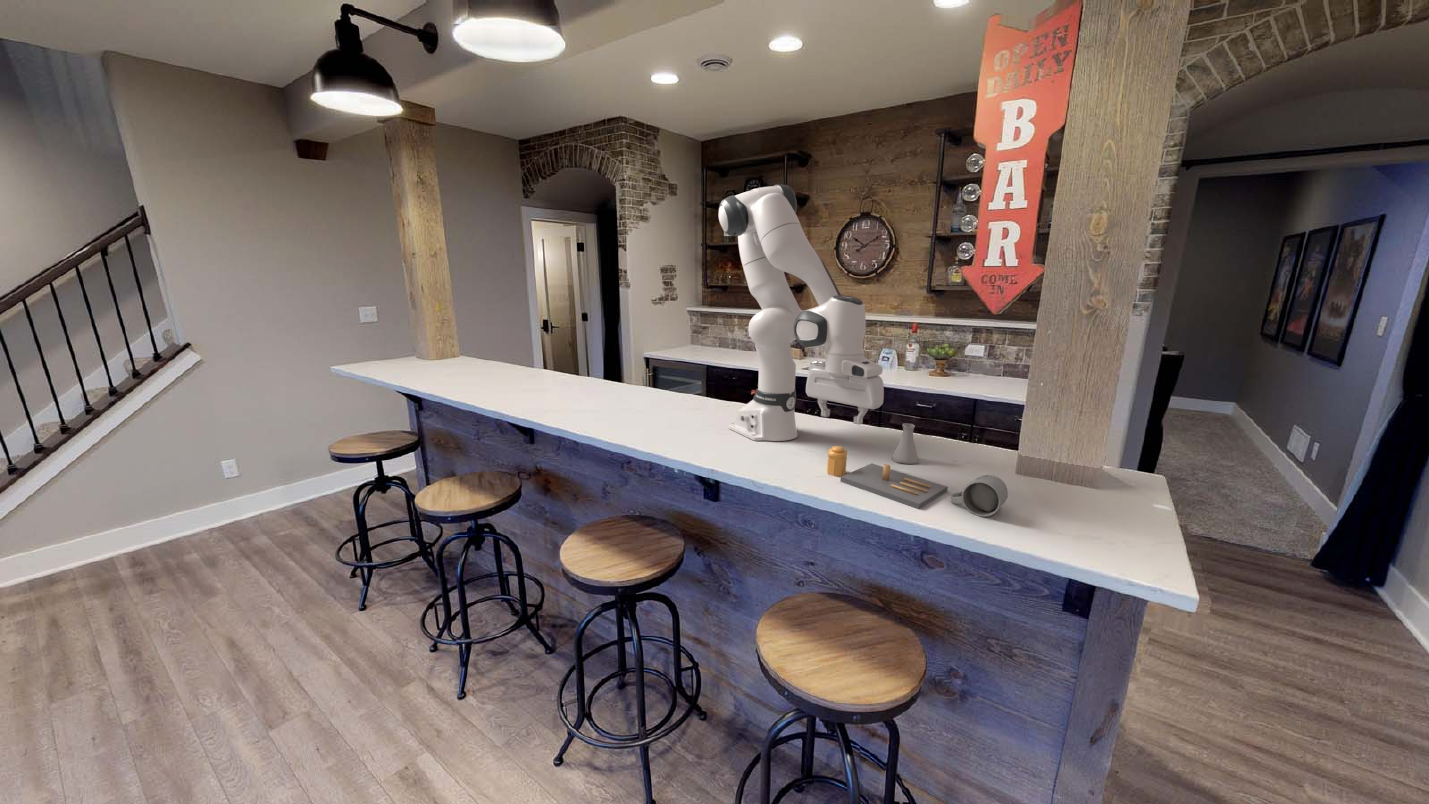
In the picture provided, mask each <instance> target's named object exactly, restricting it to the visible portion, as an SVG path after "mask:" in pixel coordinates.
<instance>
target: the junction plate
mask: <svg viewBox="0 0 1429 804" xmlns="http://www.w3.org/2000/svg"><path fill="white" fill-rule="evenodd" d="M840 483H843V484H846V485H848V486H849V485H850V486H851V487H854V488H858V489H860V490H863V491H867V492H869V493H871V494H875V495H878V496H880V497H883V498H886V499H889V500H892V501H895V502H898V503H900V504H902V505H903V504H904V505H906V506H909V507H912V508H915V509H916V510H918V509H921V508H923V507H924V506H926V505H928V504H929V503H931V502H933V501H934V500H936V499H937V498H939V497H940V496H943V495H944V494H945V493H948V488H949V487H948V486H947V485H943V484H942V483H941V484H940V483H937V482H933V481H931V480H927V479H924V478H921V477H917V476H915V475H911V474H908V473H905V472H901V471H899V470H894V469H891V465H890V464H886V463H885V464H883V466H882V465H880V464H879V465H878V464H875V463H873V462H872V463H869V464H866V465H865V466H862V467H860V468H858V469H856V470H854V471H851V472H849V473H846V474H845V475H843V476H840Z"/></svg>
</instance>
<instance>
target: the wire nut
mask: <svg viewBox="0 0 1429 804" xmlns="http://www.w3.org/2000/svg"><path fill="white" fill-rule="evenodd" d="M827 451H828V452H827V462H826V464H827V465H826V473H827V474H828V475H831V476H833V477H834V476H835V477H842V476H844V475H846V474H847V473H846V472H847V460H848V458H847V457H848V456H847V455H848V451H847V450H846V449H845V447H843V446H840V445H833V446H831V448H829V449H828V450H827Z"/></svg>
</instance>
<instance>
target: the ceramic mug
mask: <svg viewBox="0 0 1429 804" xmlns="http://www.w3.org/2000/svg"><path fill="white" fill-rule="evenodd" d="M1008 496H1009V491H1008V487H1007V485H1006V483H1005V482H1004V481H1003V479H1001V478H999V477H997V476H996V475H989V474H987V475H982V476H979V477H977V478H976V479H974V480H973V481H970V482H969V483H967V484H966V485H965V486H964V488H963V489H962V491H958V492H955V493H953V494H951V495H950V500H951V502H952V504H955V505H963V506H964V507H965V508H966V510H967V511H968V512H969V513H972V514H973V515H974V516H978V517H981V518H982V517H983V518H984V517H986V518H987V517H991V516H993V515H995V514H997V512H998V511H1000V509H1001V507H1002V506H1004V504H1005V503H1006V502H1007V499H1008Z"/></svg>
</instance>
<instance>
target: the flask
mask: <svg viewBox="0 0 1429 804" xmlns="http://www.w3.org/2000/svg"><path fill="white" fill-rule="evenodd" d="M915 427H916V425H915V424H913V423H902V432H901V433H902V434H901V437H900V439H899V441H898V443H897V446H896V447H895V450H894V452H893V454H892V456H891V460H893V461H894V462H896V463H899V464H904V465H905V464H907V465H913V464H914V465H915V464H919V461H920V460H919V456H918V452H917V449H916V444H915V439H914V429H915Z"/></svg>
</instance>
